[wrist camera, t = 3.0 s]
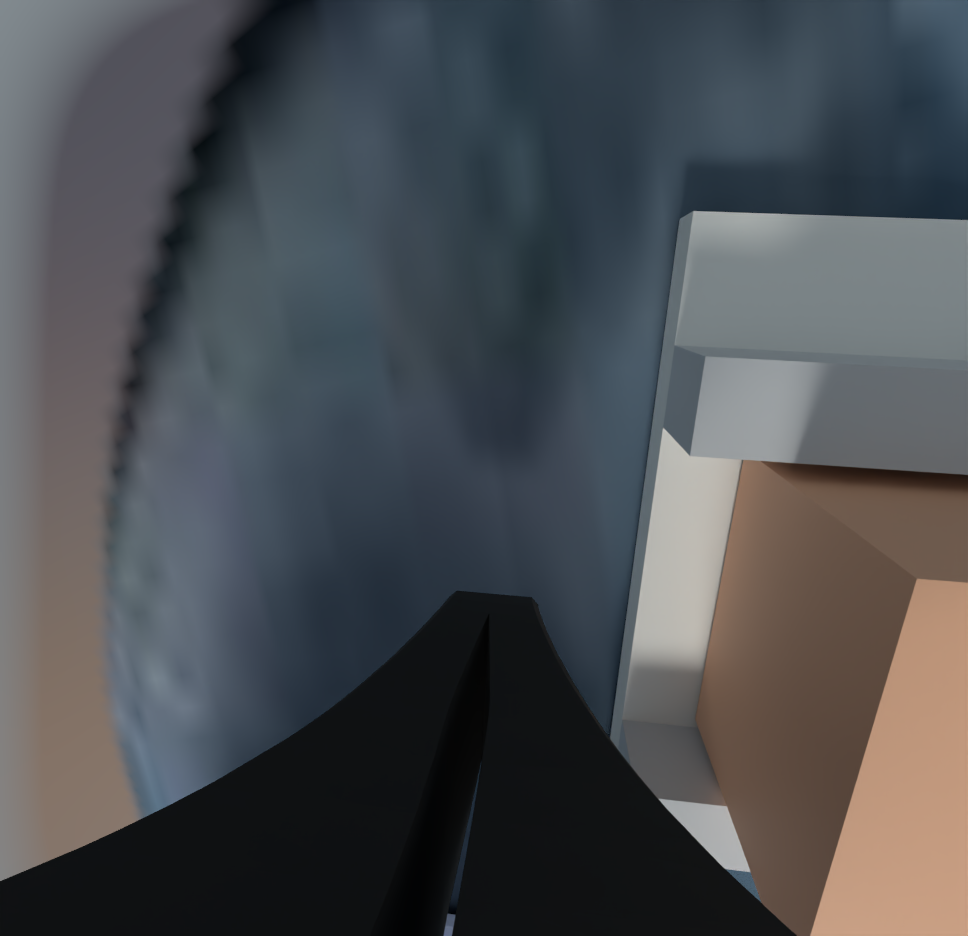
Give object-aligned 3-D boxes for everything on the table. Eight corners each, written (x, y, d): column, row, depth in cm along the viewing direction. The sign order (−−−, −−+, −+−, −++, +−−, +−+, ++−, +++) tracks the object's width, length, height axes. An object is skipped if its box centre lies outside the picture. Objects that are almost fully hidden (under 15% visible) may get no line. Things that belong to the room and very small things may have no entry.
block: (695, 719, 12) (793, 990, 7) (744, 450, 10) (916, 578, 6) (941, 744, 12) (1214, 1049, 7) (1036, 469, 10) (1489, 625, 5)
